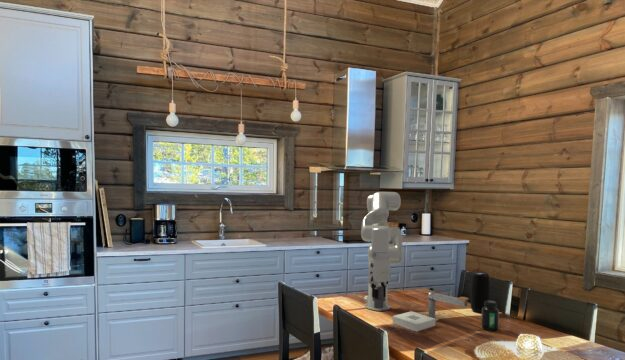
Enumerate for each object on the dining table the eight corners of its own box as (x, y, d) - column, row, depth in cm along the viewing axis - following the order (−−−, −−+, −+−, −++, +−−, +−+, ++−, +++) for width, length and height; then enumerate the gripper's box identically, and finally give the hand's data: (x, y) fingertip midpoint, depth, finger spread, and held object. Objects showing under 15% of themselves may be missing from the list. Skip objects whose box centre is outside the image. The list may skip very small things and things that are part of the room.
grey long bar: (465, 307, 176) (465, 299, 176) (426, 298, 189) (426, 290, 190) (468, 305, 179) (469, 298, 179) (430, 296, 192) (430, 289, 192)
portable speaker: (467, 311, 207) (467, 272, 207) (475, 307, 213) (475, 269, 214) (484, 315, 201) (485, 274, 201) (491, 311, 207) (492, 272, 208)
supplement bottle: (495, 332, 176) (495, 304, 176) (479, 328, 181) (479, 301, 181) (500, 329, 181) (501, 301, 181) (485, 325, 186) (485, 298, 186)
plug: (369, 306, 182) (370, 286, 182) (378, 305, 185) (378, 284, 186) (379, 309, 178) (379, 288, 178) (387, 307, 181) (388, 287, 181)
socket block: (392, 325, 182) (393, 302, 183) (422, 316, 196) (423, 295, 196) (416, 333, 172) (416, 309, 172) (446, 324, 185) (447, 301, 186)
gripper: (372, 258, 174) (371, 301, 174) (398, 255, 184) (397, 296, 184) (360, 255, 180) (359, 298, 179) (386, 253, 190) (385, 293, 190)
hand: (378, 296), depth 182 cm, fingers closed on plug, 4 cm apart
